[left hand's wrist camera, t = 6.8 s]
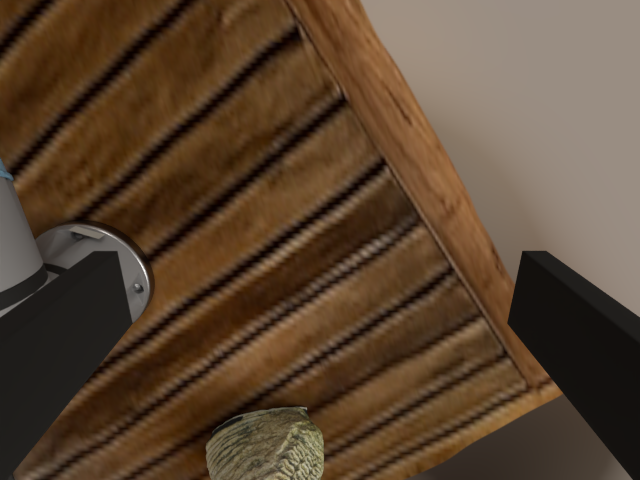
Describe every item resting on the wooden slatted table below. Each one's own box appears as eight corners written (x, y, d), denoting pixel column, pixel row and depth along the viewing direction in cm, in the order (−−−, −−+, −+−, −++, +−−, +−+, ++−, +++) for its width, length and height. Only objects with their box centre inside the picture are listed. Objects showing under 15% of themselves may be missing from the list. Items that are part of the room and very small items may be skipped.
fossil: (332, 422, 59) (336, 525, 45) (234, 466, 62) (209, 574, 48) (302, 382, 56) (296, 479, 42) (201, 431, 60) (164, 535, 46)
